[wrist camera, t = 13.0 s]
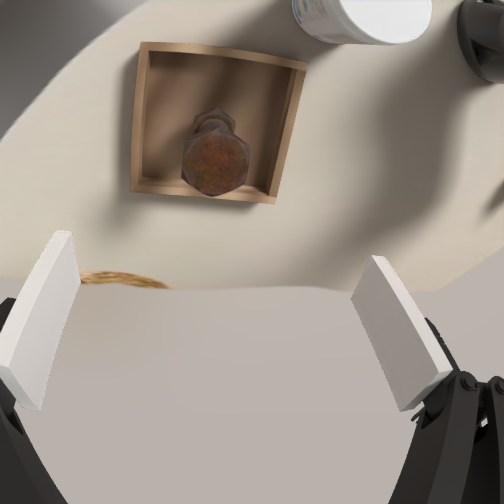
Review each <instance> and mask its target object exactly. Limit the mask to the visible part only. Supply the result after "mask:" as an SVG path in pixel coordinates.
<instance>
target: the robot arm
mask: <svg viewBox="0 0 504 504" xmlns="http://www.w3.org/2000/svg"><path fill="white" fill-rule="evenodd" d="M457 26H458V37H459V42H460V46H461V49H462V51H463V54H464V56H465V58H466V60H467V62H468V64H469V65H470V67H471V68H472V69H473V70H474V72H475V73H476V74H478V75H479V76H480V77H482V78H483V79H485V80H488V81H491V82H494V83H499V84H504V1H503V0H465V1H464V2H463V4H462V6H461V8H460V11H459V15H458V25H457ZM80 283H81V281H80V276H79V271H78V265H77V260H76V254H75V248H74V242H73V235H72V231H58V230H56V231H55V233H54V234H53V236H52V238H51V239H50V241H49V242H48V244H47V246H46V247H45V249H44V251H43V252H42V254H41V256H40V257H39V259H38V261H37V262H36V264H35V266H34V268H33V269H32V271H31V273H30V275H29V277H28V278H27V280H26V282H25V284H24V286H23V288H22V290H21V292H20V294H19V296H18V298H17V299H14V298H7V299H6V300H5V301H3V303H1V304H0V504H68V503H67V502H66V500H65V499H64V497H63V496H62V494H61V493H60V492H59V490H58V489H57V487H56V485H55V484H54V482H53V480H52V479H51V477H50V476H49V474H48V472H47V471H46V469H45V467H44V465H43V464H42V462H41V460H40V458H39V457H38V455H37V453H36V451H35V449H34V448H33V446H32V444H31V442H30V440H29V438H28V436H27V434H26V432H25V430H24V428H23V425H22V423H21V421H20V419H19V417H18V415H17V412H16V411H15V409H14V405H15V401H17V402H18V403H19V404H20V406H21V407H22V408H26V409H30V410H34V411H38V412H40V411H41V407H42V403H43V398H44V394H45V391H46V387H47V383H48V379H49V376H50V372H51V368H52V365H53V361H54V358H55V355H56V351H57V348H58V345H59V342H60V339H61V336H62V333H63V330H64V327H65V324H66V321H67V318H68V315H69V312H70V309H71V307H72V304H73V301H74V299H75V296H76V294H77V291H78V288H79V286H80ZM351 300H352V302H353V304H354V306H355V308H356V311H357V313H358V315H359V317H360V319H361V321H362V324H363V326H364V328H365V330H366V332H367V335H368V337H369V339H370V341H371V343H372V346H373V348H374V350H375V353H376V355H377V357H378V360H379V362H380V364H381V367H382V369H383V371H384V374H385V376H386V378H387V381H388V383H389V386H390V388H391V390H392V392H393V395H394V398H395V400H396V402H397V405H398V408H399V410H400V412H402V411H406V410H410V409H414V408H415V407H416V406H417V405H418V404H420V403H421V401H423V403H424V405H425V406H424V407H423V408H422V409H421V410H420V411H419V412H418V413H416V414H415V415H414V416H413V417H412V419H411V421H414V420H415V419H416V418H417V417H418V416H419V419H418V421H417V422H416V423H417V426H416V429H415V432H414V436H413V439H412V442H411V445H410V448H409V451H408V454H407V457H406V460H405V463H404V465H403V468H402V471H401V474H400V476H399V479H398V482H397V484H396V486H395V489H394V491H393V494H392V496H391V498H390V501H389V503H388V504H504V379H503V378H501V377H499V376H494V377H492V378H491V379H490V380H489V381H488V382H487V383H482V382H477V380H476V379H475V377H474V376H473V375H472V374H470V373H469V372H466V371H460V369H459V368H458V366H457V364H456V362H455V360H454V358H453V357H452V355H451V353H450V351H449V350H448V348H447V346H446V345H445V344H444V343H445V342H444V341H443V339H442V337H440V334H439V332H438V331H437V329H436V327H435V326H434V325H433V324H432V323H431V322H430V321H429V320H428V319H427V318H424V317H423V316H422V314H421V312H420V311H419V309H418V307H417V306H416V304H415V303H414V301H413V299H412V298H411V296H410V295H409V293H408V291H407V290H406V288H405V287H404V285H403V284H402V282H401V281H400V279H399V277H398V276H397V274H396V273H395V271H394V270H393V268H392V267H391V265H390V264H389V262H388V261H387V259H386V258H385V257H384V256H374V255H371V257H370V259H369V262H368V264H367V266H366V268H365V270H364V272H363V275H362V277H361V279H360V281H359V283H358V285H357V287H356V289H355V291H354V293H353V295H352V297H351ZM485 418H487V421H488V424H486V425H485V426H484V427H482V425H481V422H482V421H483V420H484V419H485Z"/></svg>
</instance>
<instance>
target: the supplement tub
mask: <svg viewBox="0 0 504 504" xmlns="http://www.w3.org/2000/svg"><path fill="white" fill-rule="evenodd" d="M292 10H293V14H294V17H295V19H296V21H297V22H298V24H299V25H300V27H301V28H302V29H303V30H304V31H305V32H306V33H308V34H309V35H310V36H312V37H314V38H316V39H318V40H320V41H323V42H327V43H335V44H368V45H397V44H404V43H408V42H411V41H413V40H415V39H416V38H418V37H419V36H420V35H421V34H422V33H423V32H424V31H425V29H426V28H427V26H428V24H429V21H430V17H431V11H432V6H431V0H292Z"/></svg>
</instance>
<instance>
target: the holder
mask: <svg viewBox="0 0 504 504" xmlns="http://www.w3.org/2000/svg"><path fill="white" fill-rule="evenodd" d="M307 65H308V63H305V62H301V61H297V60H292V59H288V58H283V57H278V56H273V55H268V54H263V53H257V52H251V51H245V50H238V49H231V48H224V47H215V46H206V45H195V44H183V43H165V42H141V44H140V51H139V59H138V67H137V75H136V85H135V96H134V108H133V122H132V139H131V167H130V192H140V193H155V194H169V195H182V196H194V197H206V198H217V199H228V200H238V201H248V202H257V203H267V204H275V201H276V197H277V193H278V189H279V185H280V180H281V176H282V172H283V168H284V164H285V159H286V155H287V151H288V147H289V143H290V138H291V134H292V130H293V126H294V121H295V117H296V113H297V108H298V104H299V100H300V95H301V91H302V87H303V82H304V78H305V74H306V69H307ZM216 107H217V108H219V109H220V110H222V111H223V112H224V113H226V114H227V115H229V116H230V117H231V118H232V119H234V120H235V122H236V127H235V133H234V134H235V135H237V136H238V137H239V138H241V139H242V140H243V141H245V142H246V143H247V144H249V145H250V147H251V158H250V164H249V170H248V175H247V179H246V182H245V184H244V185H242V186H241V187H239V188H237V189H235V190H233V191H231V192H228V193H226V194H223V195H219V196H215V197H209V196H207V195H204V194H202V193H200V192H199V191H197V190H196V189H194V188H193V187H191V186H190V185H189V184H187V183H186V182H185V181H184V180H183V179H182V178H181V170H182V159H183V150H184V143H185V138H188V137H190V136H192V130H193V122H194V116H196V115H198V114H200V113H202V112H205V111H207V110H210V109H213V108H216Z"/></svg>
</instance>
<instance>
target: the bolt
mask: <svg viewBox="0 0 504 504" xmlns="http://www.w3.org/2000/svg"><path fill="white" fill-rule="evenodd" d="M235 127H236V122H235V120H234V119H232V118H231V117H230V116H229V115H227V114H226V113H224V112H223V111H222V110H220V109H219V108H217V107H216V108H213V109H210V110H207V111H205V112H202V113H200V114H198V115H196V116H194V122H193V130H192V136H190V137H188V138H185V143H184V150H183V159H182V170H181V178H182V179H183V180H184V181H185V182H186V183H187V184H189V185H190V186H191V187H193V188H194V189H196V190H197V191H199V192H200V193H202V194H204V195H207V196H209V197H215V196H219V195H223V194H226V193H228V192H231V191H233V190H235V189H237V188H239V187H241V186H242V185H244V184H245V182H246V179H247V175H248V170H249V164H250V158H251V147H250V145H249V144H247V143H246V142H245V141H243V140H242V139H241V138H239V137H238V136H237V135H235V134H234V133H235Z"/></svg>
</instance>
